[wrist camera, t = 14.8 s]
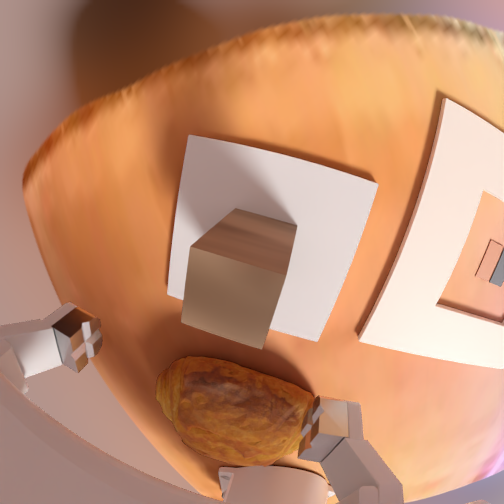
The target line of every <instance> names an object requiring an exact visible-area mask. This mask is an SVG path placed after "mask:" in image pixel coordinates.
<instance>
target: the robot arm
mask: <svg viewBox="0 0 504 504" xmlns="http://www.w3.org/2000/svg"><path fill="white" fill-rule="evenodd" d="M100 327H101V323H100V319H99V318H98V317H96V316H94V315H92V314H91V313H89V312H87V311H85V310H84V309H82V308H80V307H78V306H76V305H75V304H73V303H71V302H68V303H66V304H64V305H63V306H61V307H60V308H59V309H57V310H56V311H54V312H53V313H52V314H50V315H49V316H48V317H46V318H45V319H44V320H40V319H38V320H31V321H26V322H19V323H13V324H7V325H1V326H0V504H327V498H328V497H331V496H333V495H335V494H336V496H337V498H338V500H339V502H338V503H336V504H404V500H403V487H402V484H401V483H400V481H399V480H398V479H397V478H396V476H395V475H394V474H393V472H392V471H391V470H390V469H389V467H388V466H387V465H386V464H385V462H384V461H383V460H382V458H381V457H380V456H379V455H378V453H377V452H376V451H375V449H374V448H373V447H372V446H371V444H370V443H369V442H368V440H364V437H363V425H362V414H361V405H360V404H359V403H357V402H351V401H345V400H340V399H334V398H329V397H324V396H319V395H318V396H317V397H316V398H315V400H314V402H313V408H311V409H308V411H307V413H306V415H305V417H304V419H303V422H302V427H301V434H302V436H303V439H302V440H301V442H300V443H299V450H298V458H299V459H304V460H309V461H315V462H321V463H320V464H321V466H322V468H323V470H324V472H325V474H326V476H327V478H328V480H329V482H330V484H331V486H330V485H328V484H327V482H326V480H325V479H324V478H322V477H321V476H319V475H317V474H314V473H311V472H308V471H304V470H299V469H294V468H288V467H279V466H266V467H264V466H248V467H241V468H232V467H220V468H219V472H218V475H219V480H220V484H221V489H222V498H223V499H224V500H223V501H219V500H216V499H213V498H209V497H206V496H203V495H200V494H196V493H194V492H191V491H188V490H185V489H183V488H180V487H177V486H175V485H172V484H170V483H167V482H164V481H162V480H160V479H157V478H155V477H153V476H150V475H148V474H146V473H144V472H142V471H140V470H137V469H136V468H134V467H132V466H130V465H128V464H126V463H124V462H122V461H120V460H118V459H116V458H114V457H112V456H111V455H109V454H107V453H105V452H104V451H102V450H100V449H99V448H97V447H95V446H94V445H92V444H90V443H89V442H87V441H86V440H84V439H82V438H81V437H79V436H78V435H76V434H75V433H73V432H72V431H70V430H69V429H68V428H66V427H64V426H63V425H62V424H61V423H59V422H58V421H56V420H55V419H54V418H52V417H51V416H50V415H48V414H47V413H46V412H45V411H43V410H42V409H41V408H40V407H38V406H37V405H36V404H35V403H33V402H32V401H31V400H30V399H29V398H28V397H26V396H25V395H24V394H25V393H26V392H27V391H28V390H29V386H28V384H27V382H26V380H25V378H26V377H29V376H31V375H34V374H37V373H40V372H43V371H46V370H49V369H51V368H54V367H57V366H60V365H62V364H64V365H66V366H67V367H69V368H70V369H72V370H74V371H76V372H77V373H79V372H80V371H81V370H82V369H83V368H84V367H85V366H86V365H87V364H88V358H90V357H94V356H95V355H96V354H97V353H98V352H99V350H100V348H101V346H102V334H101V333H100V331H99V328H100ZM467 504H489V503H488V502H487V501H485V500H478V501H473V502H470V503H467Z"/></svg>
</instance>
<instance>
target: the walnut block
mask: <svg viewBox="0 0 504 504" xmlns="http://www.w3.org/2000/svg"><path fill="white" fill-rule="evenodd" d="M296 231H297V225H294V224H291V223H287V222H284V221H280V220H277V219H273V218H270V217H266V216H263V215H259V214H255V213H252V212H248V211H244V210H241V209H237V208H235V209H234V210H233V211H231V212H230V213H229V214H228V215H227V216H225V217H224V218H223V219H222V220H221V221H219V222H218V223H217V224H216V225H215V226H213V227H212V228H211V229H210V230H209V231H207V232H206V233H205V234H204V235H203V236H202V237H200V238H199V239H198V240H197V241H196V242H195V243H193V244H192V245H191V246H190V250H189V258H188V265H187V273H186V281H185V289H184V298H183V307H182V317H181V323H184V324H186V325H189V326H192V327H195V328H197V329H200V330H203V331H206V332H209V333H212V334H215V335H217V336H220V337H223V338H226V339H229V340H233V341H236V342H239V343H242V344H245V345H248V346H251V347H255V348H258V349H261V350H262V348H263V345H264V342H265V339H266V336H267V334H268V331H269V328H270V325H271V322H272V319H273V316H274V313H275V310H276V307H277V303H278V300H279V297H280V294H281V291H282V288H283V285H284V282H285V279H286V275H287V271H288V267H289V262H290V258H291V253H292V249H293V245H294V240H295V235H296Z"/></svg>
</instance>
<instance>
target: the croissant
mask: <svg viewBox="0 0 504 504" xmlns="http://www.w3.org/2000/svg"><path fill="white" fill-rule="evenodd" d="M155 393H156V400H157V401H158V402H159V403H160V405H161V407H162V412H163V413H164V414H165V416H166V417H167V418H168V419H169V420H170V421H171V422H173V424H174V427H175V429H176V431H177V432H178V433H179V435H180V436H181V438H182V441H183V443H184V444H186V445H187V446H188V447H190V448H191V449H193V450H194V451H195V452H197V453H198V454H200V455H203V456H206V457H209V458H212V459H215V460H218V461H222V462H226V463H229V464H234V465H241V466H256V465H260V466H264V467H266V466H269V465H271V464H273V463H274V462H275V461H276V460H278V459H280V458H282V457H283V456H284V455H288V454H291V453H293V451H296V450H298V449H299V443H300V442H301V440H302V439H303V436H302V434H301V427H302V422H303V419H304V417H305V415H306V413H307V411H308V409H311V408H313V402H314V400H315V399H314V397H313V396H312V394H311V393H310V392H308V391H305V390H303V389H301V388H300V387H298V386H296V385H295V384H292V383H289V382H286V381H283V380H281V379H279V378H276V377H273V376H270V375H266V374H263V373H260V372H258V371H255V370H252V369H249V368H245V367H241V366H239V365H238V364H236V363H233V362H229V361H225V360H220V359H216V358H208V357H203V356H202V357H192V356H188V357H186V358H181V359H180V360H175V361H174V362H173V363H172V364H171V366H170V367H169V369H165V370H164V371H163V372H162V373H161V374H160V375H159V376H158V378H157V382H156V391H155Z"/></svg>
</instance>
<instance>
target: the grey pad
mask: <svg viewBox="0 0 504 504" xmlns="http://www.w3.org/2000/svg"><path fill="white" fill-rule="evenodd" d="M378 185H379V184H378V183H376V182H373V181H370V180H367V179H364V178H361V177H358V176H355V175H352V174H349V173H346V172H343V171H340V170H337V169H333V168H330V167H327V166H324V165H320V164H317V163H313V162H310V161H306V160H303V159H299V158H296V157H292V156H288V155H284V154H280V153H276V152H272V151H268V150H264V149H260V148H256V147H251V146H247V145H242V144H237V143H233V142H228V141H223V140H218V139H212V138H207V137H201V136H196V135H189V136H188V141H187V146H186V152H185V157H184V163H183V169H182V175H181V181H180V187H179V194H178V201H177V208H176V215H175V223H174V231H173V239H172V248H171V258H170V268H169V279H168V291H167V295H170V296H173V297H175V298H178V299H181V300H183V298H184V289H185V281H186V273H187V265H188V258H189V250H190V246H191V245H192V244H193V243H195V242H196V241H197V240H198V239H199V238H200V237H202V236H203V235H204V234H205V233H206V232H207V231H209V230H210V229H211V228H212V227H213V226H215V225H216V224H217V223H218V222H219V221H221V220H222V219H223V218H224V217H225V216H227V215H228V214H229V213H230V212H231V211H233V210H234V209H235V208H237V209H241V210H244V211H248V212H252V213H255V214H259V215H263V216H266V217H270V218H273V219H277V220H280V221H284V222H287V223H291V224H294V225H297V231H296V235H295V240H294V245H293V249H292V253H291V258H290V262H289V267H288V271H287V275H286V279H285V282H284V285H283V288H282V291H281V294H280V297H279V300H278V303H277V307H276V310H275V313H274V316H273V319H272V322H271V325H270V328H269V329H273V330H276V331H279V332H283V333H286V334H290V335H293V336H297V337H301V338H304V339H308V340H312V341H315V342H318V339H319V337H320V335H321V333H322V331H323V329H324V327H325V324H326V322H327V320H328V318H329V316H330V313H331V311H332V309H333V306H334V304H335V302H336V299H337V297H338V295H339V292H340V290H341V288H342V285H343V283H344V280H345V278H346V275H347V273H348V270H349V268H350V265H351V263H352V260H353V257H354V255H355V252H356V249H357V247H358V244H359V241H360V239H361V236H362V233H363V230H364V227H365V224H366V222H367V219H368V216H369V213H370V210H371V207H372V204H373V201H374V197H375V194H376V191H377V188H378Z"/></svg>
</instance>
